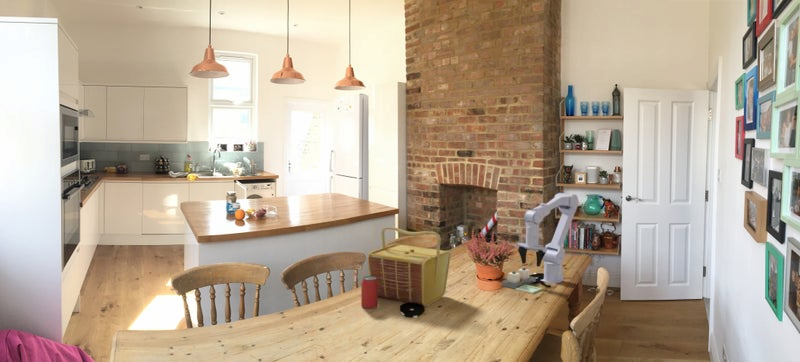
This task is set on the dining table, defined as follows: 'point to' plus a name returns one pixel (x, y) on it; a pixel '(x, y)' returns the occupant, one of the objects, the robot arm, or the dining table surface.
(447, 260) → the picnic basket
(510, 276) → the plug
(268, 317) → the dining table surface
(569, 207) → the robot arm
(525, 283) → the small drawer cabinet
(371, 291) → the beer can
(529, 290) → the tray
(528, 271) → the pull-out knob drawer
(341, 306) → the dining table surface
